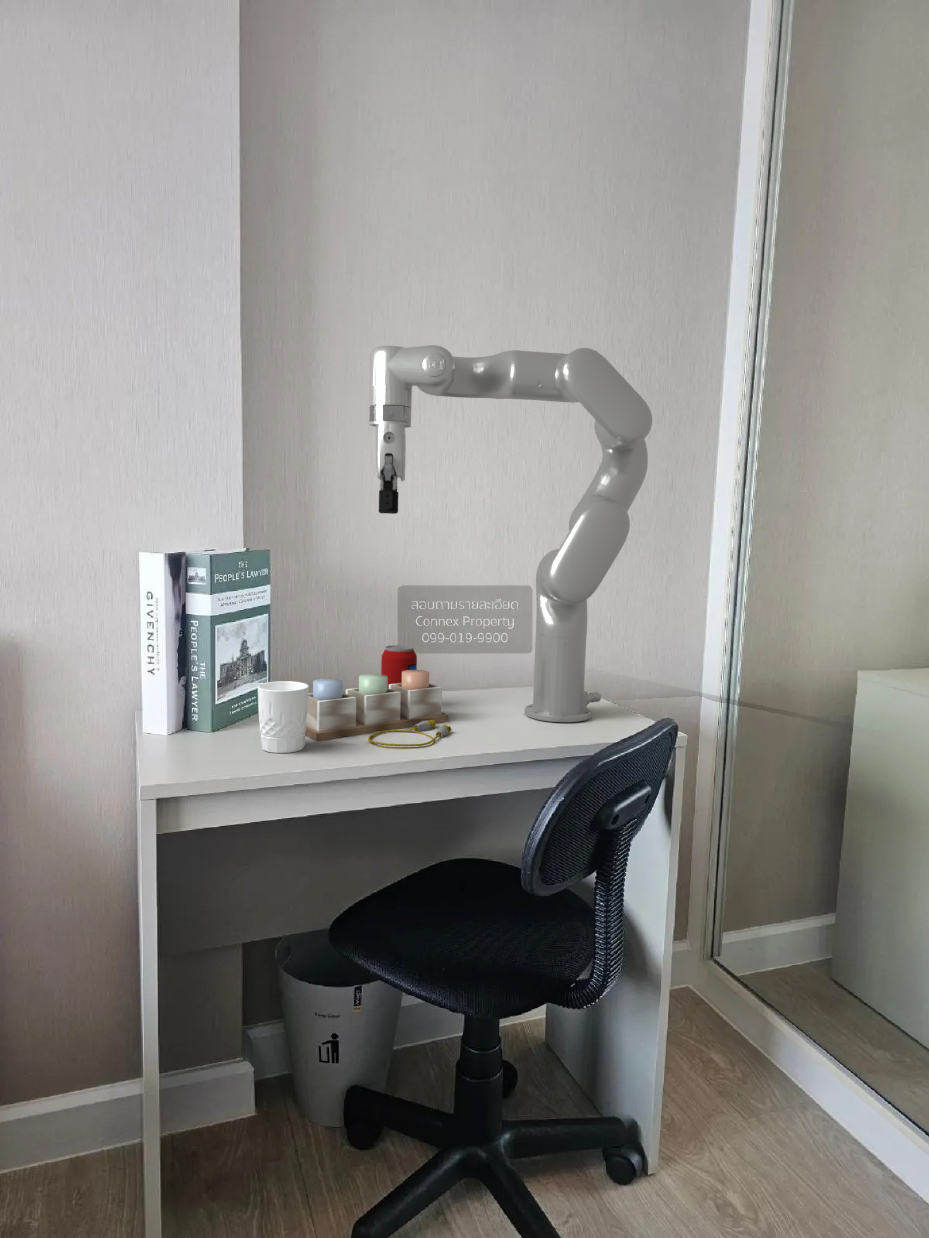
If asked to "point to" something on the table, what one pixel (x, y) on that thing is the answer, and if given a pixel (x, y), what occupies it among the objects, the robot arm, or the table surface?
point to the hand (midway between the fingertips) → (388, 513)
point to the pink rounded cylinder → (415, 679)
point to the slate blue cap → (327, 689)
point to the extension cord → (418, 727)
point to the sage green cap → (373, 684)
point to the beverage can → (397, 662)
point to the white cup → (282, 715)
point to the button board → (373, 711)
